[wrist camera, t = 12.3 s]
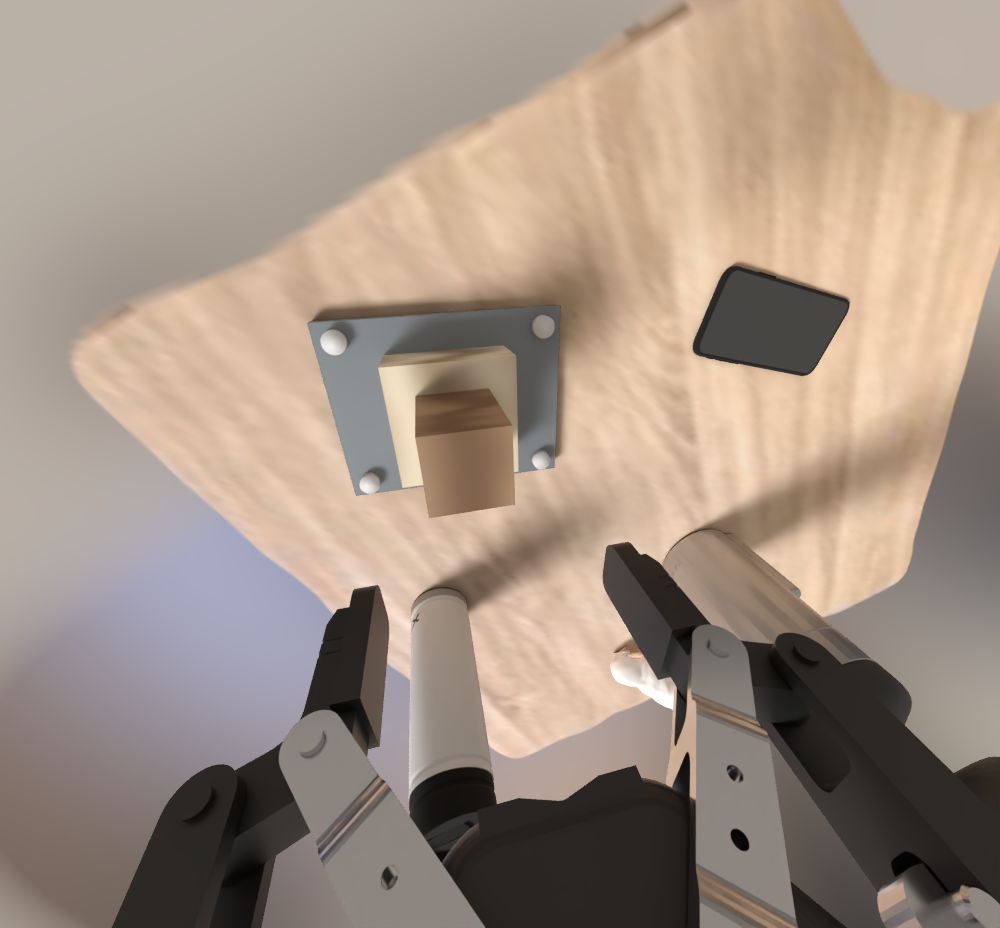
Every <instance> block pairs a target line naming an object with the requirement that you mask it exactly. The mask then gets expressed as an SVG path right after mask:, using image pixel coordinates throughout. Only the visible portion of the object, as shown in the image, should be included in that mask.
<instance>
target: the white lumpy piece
mask: <svg viewBox="0 0 1000 928" xmlns="http://www.w3.org/2000/svg"><path fill="white" fill-rule="evenodd" d="M625 648H626V647H625ZM625 648H623V649H622V650H621V651H620V652H618V653H613V659H612V662H611V672H612V675H613V677H614V678H615V680H616V681H618V682H619V683H621V684H624V685H627V686H632V687H634V686H637V687H638V688H639V689H640V691H641V692H643V693H644V694H646V695H648V696H650V697H652V698H653V699H654V700H655V701H656V702H658V703H660V704H661V705H663V706H665V707H667V708H670V709H672V710H673V702H674V689H675V684H674V682H673V680H672V679H671V677H669V678H664V679H660V680H658V679H657V677H656V676H655V674H654V672H653V671H652V669H651V667H650V665H649V664H648V662H647V660H646V659H645V657H642V658H632V657H630V656H629V657H628V656H627V654H626V653H628V652H627V651H624V649H625ZM629 651H630V650H629ZM628 655H629V654H628Z"/></svg>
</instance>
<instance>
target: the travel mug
mask: <svg viewBox="0 0 1000 928" xmlns="http://www.w3.org/2000/svg"><path fill="white" fill-rule="evenodd" d="M409 738H410V739H409V787H410V788H409V810H410V815H409V816H410V817H411V819H412V820H413V822H414V823H415V825H416V826H417V828H418V829H419V831H420V832H421V834H422V835H423V837H424V838H425V839H426V841H427V842H428V844H429V845H430V847H431V848H432V850H433V851H434V853H435V854H436V856H437V857H438V859H439V860H440V862H441V863H442V862H443V860H444V859H445V857H446V856H447V854H448V853H449V851H450V850H451V848H452V847H453V846H454V845H455V843H456V842H457V841H458V840H459V839H460V837H461V836H463V835H464V834H465V833H466V832H467V831H468V830H469V829H470V828H472V827H473V826H474V825H476V824H477V823H479V821H478V812H477V810H479V809H482V808H486V807H489V806H493V805H496V804H497V803H496V796H495V793H494V783H493V780H494V779H493V771H492V769H491V767H492V766H491V759H490V752H489V745H488V739H487V732H486V726H485V719H484V713H483V706H482V700H481V693H480V687H479V680H478V674H477V667H476V661H475V654H474V648H473V641H472V635H471V628H470V622H469V615H468V609H467V602H466V599H465V598H464V596H463V595H462V594H460V593H459V592H458V591H455V590H452V589H447V588H438V589H433V590H430V591H428V592H426V593H424V594H422V595H421V596H419V597H418V598H417V599H416V600H415V602H414V604H413V606H412V608H411V667H410V737H409Z"/></svg>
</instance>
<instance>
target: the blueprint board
mask: <svg viewBox="0 0 1000 928" xmlns="http://www.w3.org/2000/svg"><path fill="white" fill-rule="evenodd" d="M560 307H561V306H556V305H551V306H535V307H520V308H504V309H489V310H474V311H458V312H443V313H427V314H412V315H396V316H381V317H366V318H350V319H335V320H319V321H310V322H308V323H307V324H308V328H309V331H310V335H311V339H312V342H313V346H314V349H315V353H316V356H317V360H318V363H319V367H320V370H321V374H322V377H323V381H324V385H325V388H326V392H327V395H328V399H329V402H330V406H331V409H332V413H333V416H334V420H335V423H336V427H337V431H338V434H339V438H340V441H341V445H342V448H343V452H344V455H345V459H346V462H347V466H348V469H349V473H350V477H351V480H352V484H353V487H354V491H355V494H356V496H359V495H366V494H373V493H380V492H387V491H394V490H401V489H408V488H415V487H422V486H424V485H420V486H413V487H406V488H403V487H402V482H401V477H400V473H399V468H398V463H397V458H396V453H395V448H394V443H393V438H392V433H391V429H390V424H389V419H388V414H387V409H386V404H385V399H384V394H383V389H382V384H381V380H380V375H379V370H378V367H379V364H380V362H381V359H382V357H383V355H393V354H405V353H417V352H429V351H442V350H454V349H466V348H478V347H490V346H503V345H504V346H505V347H506V348H507V349H509V350H510V351H511V352H512V353H514V354H515V355H516V367H517V420H518V472H514V473H521V472H528V471H535V470H542V469H549V468H555V442H556V415H557V388H558V361H559V334H560Z"/></svg>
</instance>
